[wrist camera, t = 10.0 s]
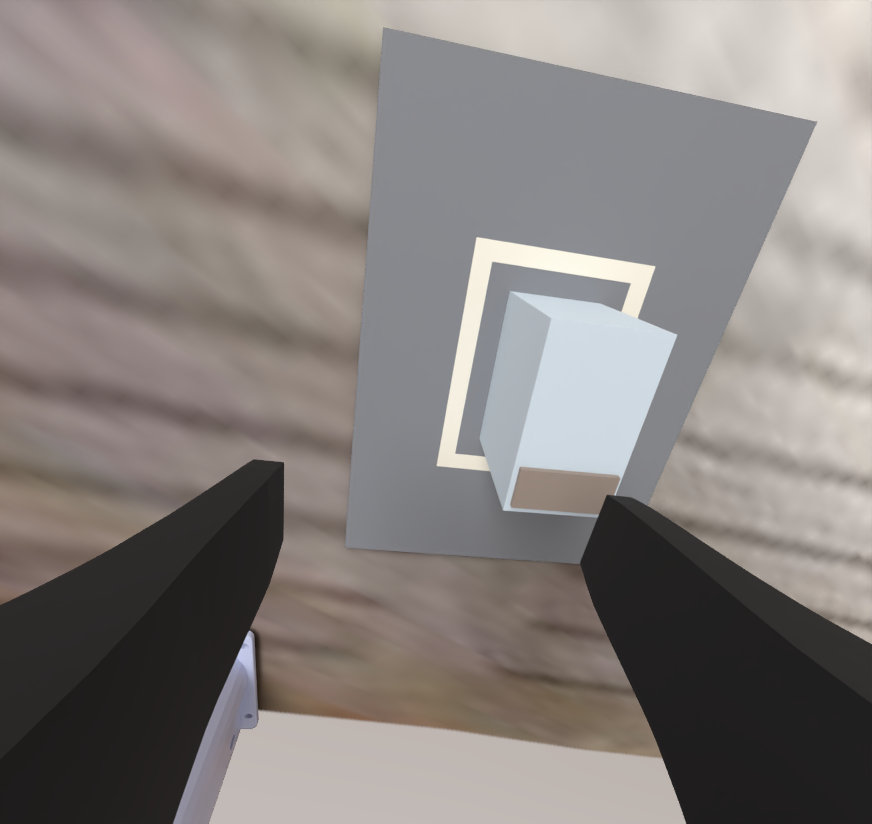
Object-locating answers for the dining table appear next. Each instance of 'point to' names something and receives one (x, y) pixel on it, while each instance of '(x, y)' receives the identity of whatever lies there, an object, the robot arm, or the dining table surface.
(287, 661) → the dining table surface
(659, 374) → the card box
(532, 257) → the mat
